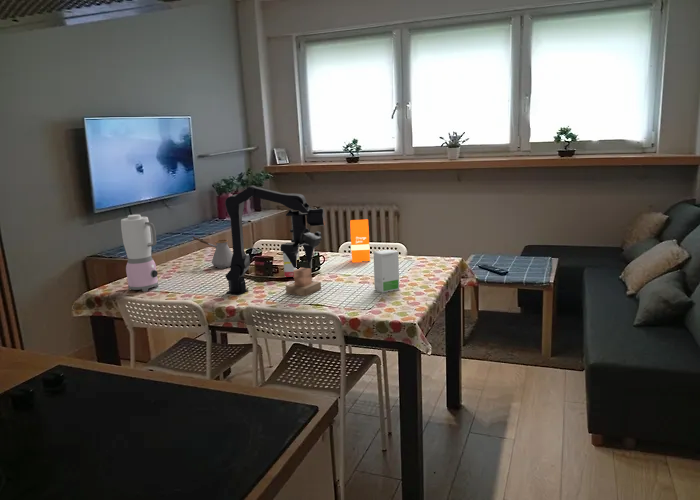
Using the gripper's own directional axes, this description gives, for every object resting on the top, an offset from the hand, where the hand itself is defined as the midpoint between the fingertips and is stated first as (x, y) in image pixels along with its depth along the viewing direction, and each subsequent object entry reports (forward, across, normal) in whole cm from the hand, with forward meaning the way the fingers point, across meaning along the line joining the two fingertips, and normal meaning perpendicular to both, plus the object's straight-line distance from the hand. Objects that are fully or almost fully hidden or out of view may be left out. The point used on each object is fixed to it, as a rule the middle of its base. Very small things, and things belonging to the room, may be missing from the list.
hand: (302, 264), depth 223 cm
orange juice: (+11, +54, +6) cm, 55 cm away
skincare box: (+11, +15, -30) cm, 35 cm away
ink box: (+11, +18, +20) cm, 29 cm away
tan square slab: (+11, 0, 0) cm, 11 cm away
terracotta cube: (+8, 0, 0) cm, 8 cm away
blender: (+11, -24, +67) cm, 72 cm away
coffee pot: (+11, +17, +68) cm, 71 cm away
